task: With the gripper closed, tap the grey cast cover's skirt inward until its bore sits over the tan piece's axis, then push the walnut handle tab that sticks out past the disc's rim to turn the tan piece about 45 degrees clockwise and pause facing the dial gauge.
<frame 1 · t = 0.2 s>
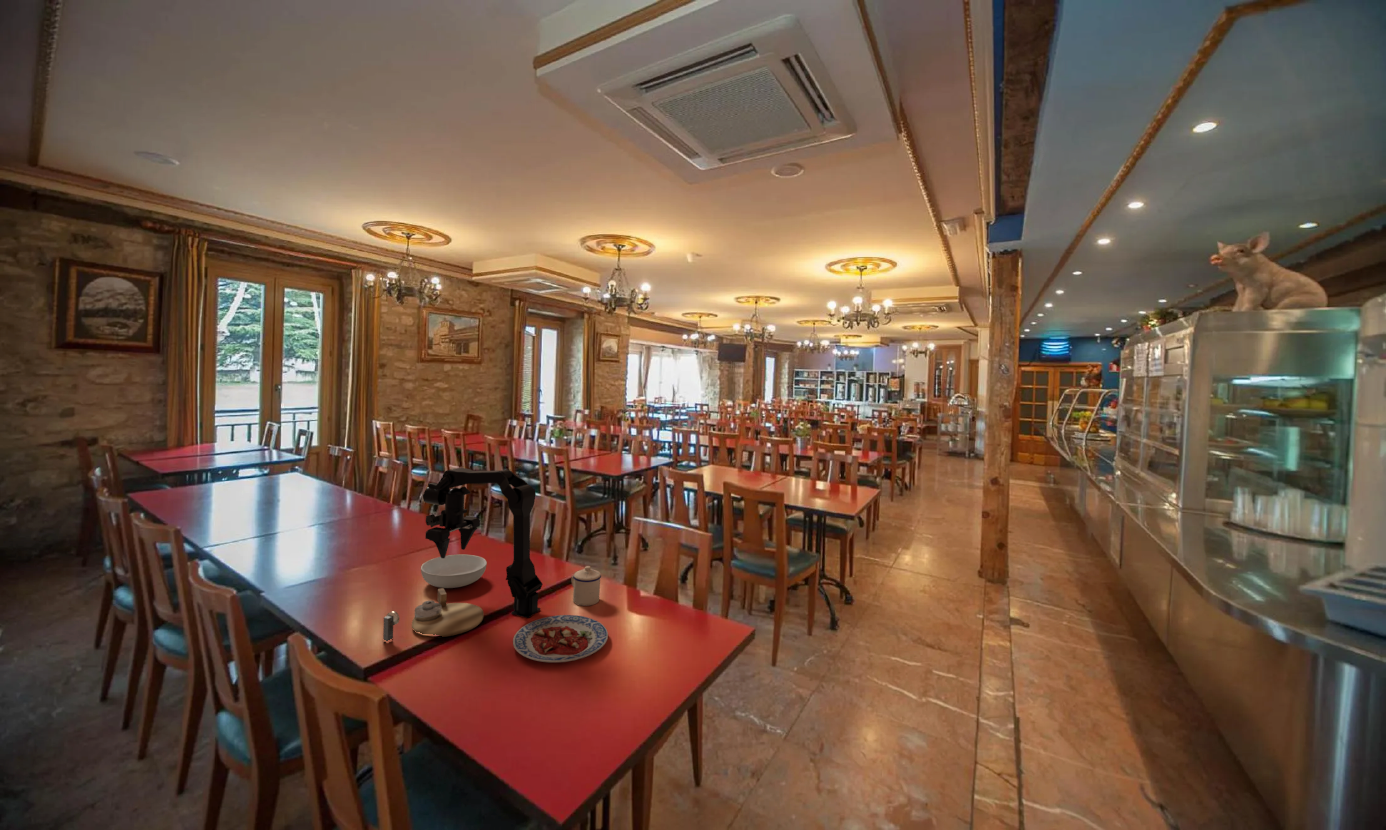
hand: (453, 553, 165), 14 cm above the table, fingers open, 9 cm apart
ceramic plate: (561, 644, 141), on the table
teacup with lid: (583, 599, 169), on the table
dial gauge: (388, 641, 136), on the table
cover: (428, 616, 148), point 2 cm above the table, touching tan piece
tan piece: (446, 612, 148), point 3 cm above the table, hinge at 0.0°, touching cover
serving bowl: (454, 583, 176), on the table
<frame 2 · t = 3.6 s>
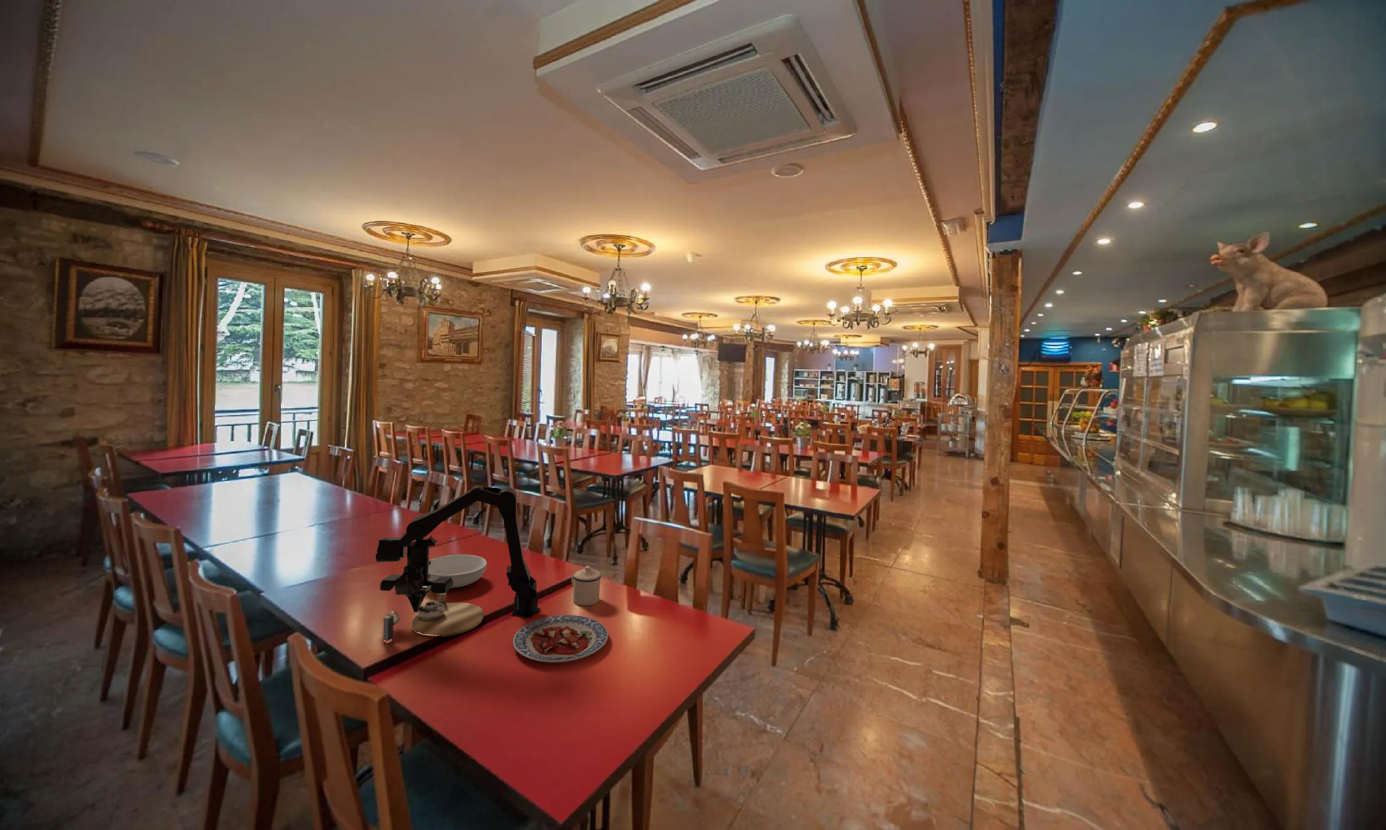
hand: (416, 611, 148), 3 cm above the table, fingers closed
cover: (431, 616, 148), point 2 cm above the table, touching gripper
tan piece: (446, 612, 148), point 3 cm above the table, hinge at 0.2°
everything else where it was.
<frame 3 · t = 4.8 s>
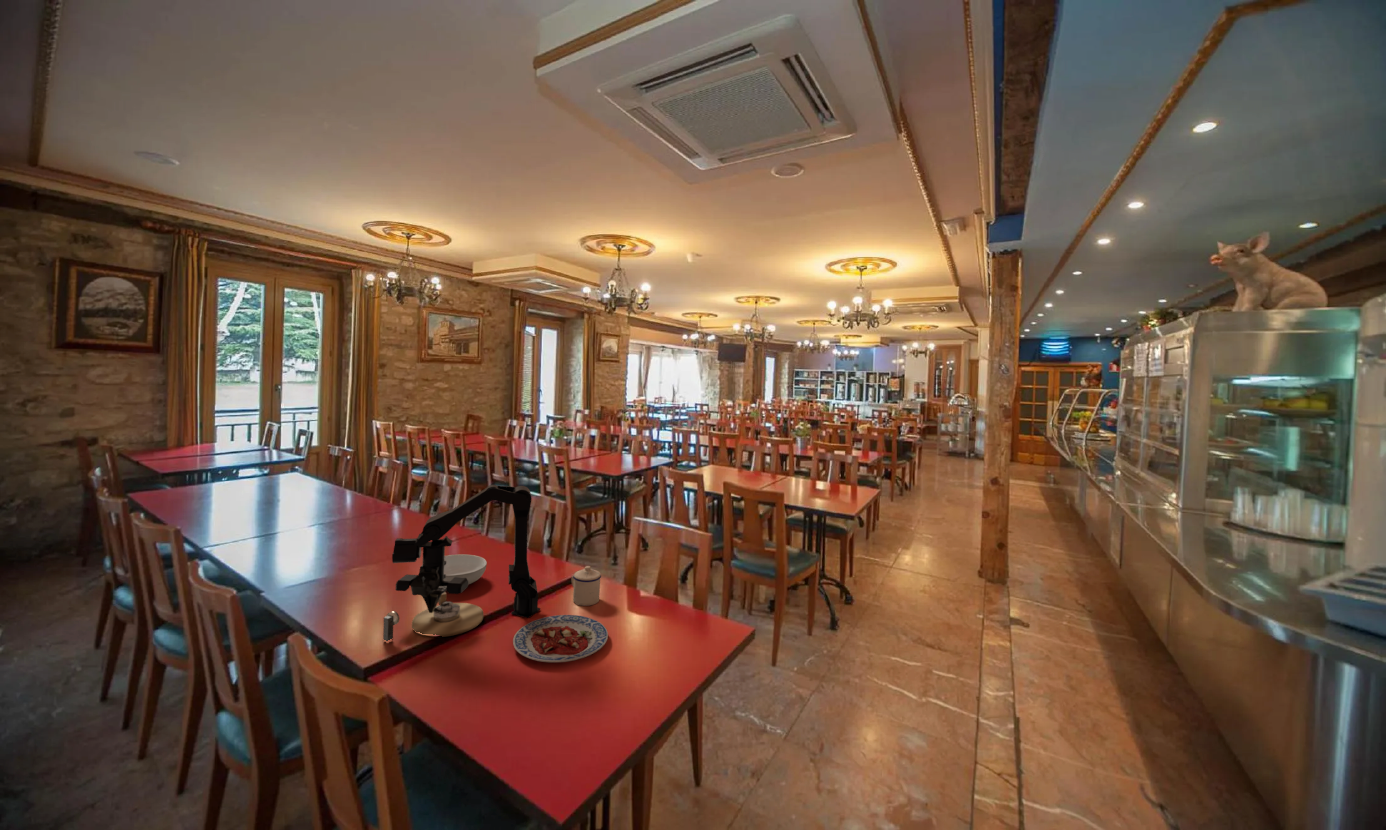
hand: (431, 612, 148), 3 cm above the table, fingers closed
cover: (446, 617, 148), point 2 cm above the table, touching gripper, tan piece
tan piece: (446, 612, 148), point 3 cm above the table, hinge at 0.2°, touching cover
everything else where it was.
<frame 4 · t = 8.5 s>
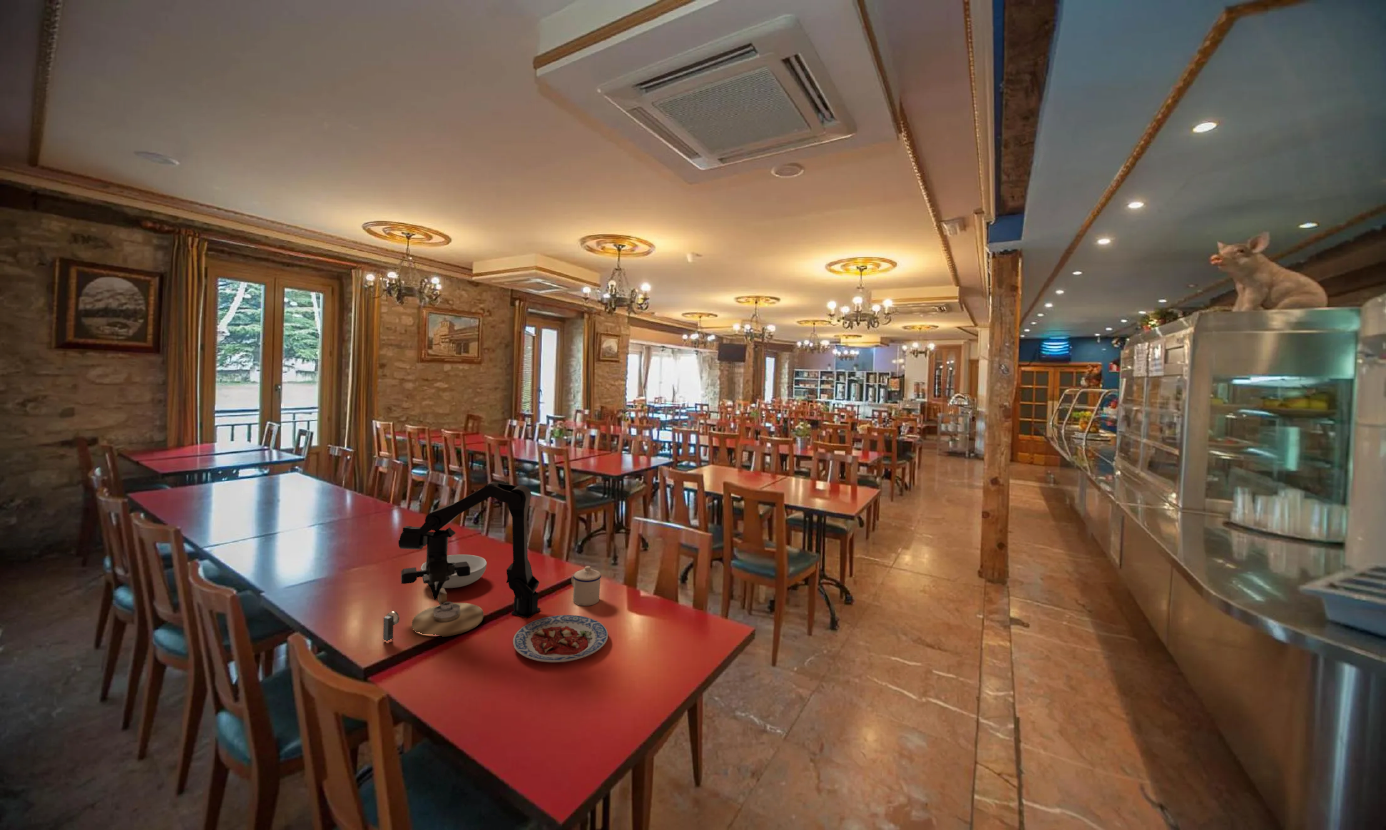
hand: (435, 599, 155), 4 cm above the table, fingers closed
cover: (446, 617, 148), point 2 cm above the table, touching tan piece
tan piece: (446, 612, 148), point 3 cm above the table, hinge at -0.7°, touching cover, gripper
everything else where it was.
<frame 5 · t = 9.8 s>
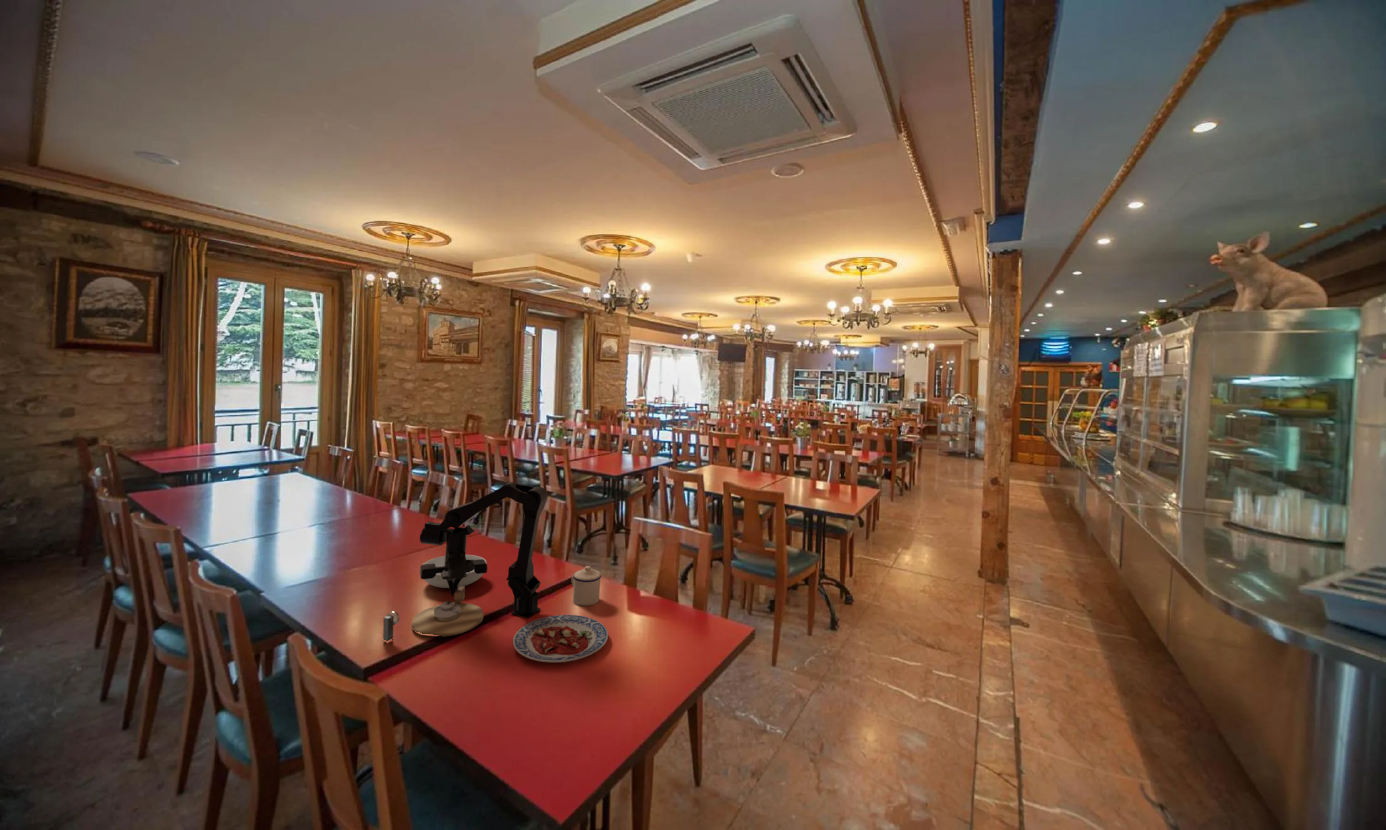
hand: (452, 595, 158), 4 cm above the table, fingers closed
tan piece: (447, 611, 149), point 3 cm above the table, hinge at -27.8°, touching cover, gripper
everything else where it was.
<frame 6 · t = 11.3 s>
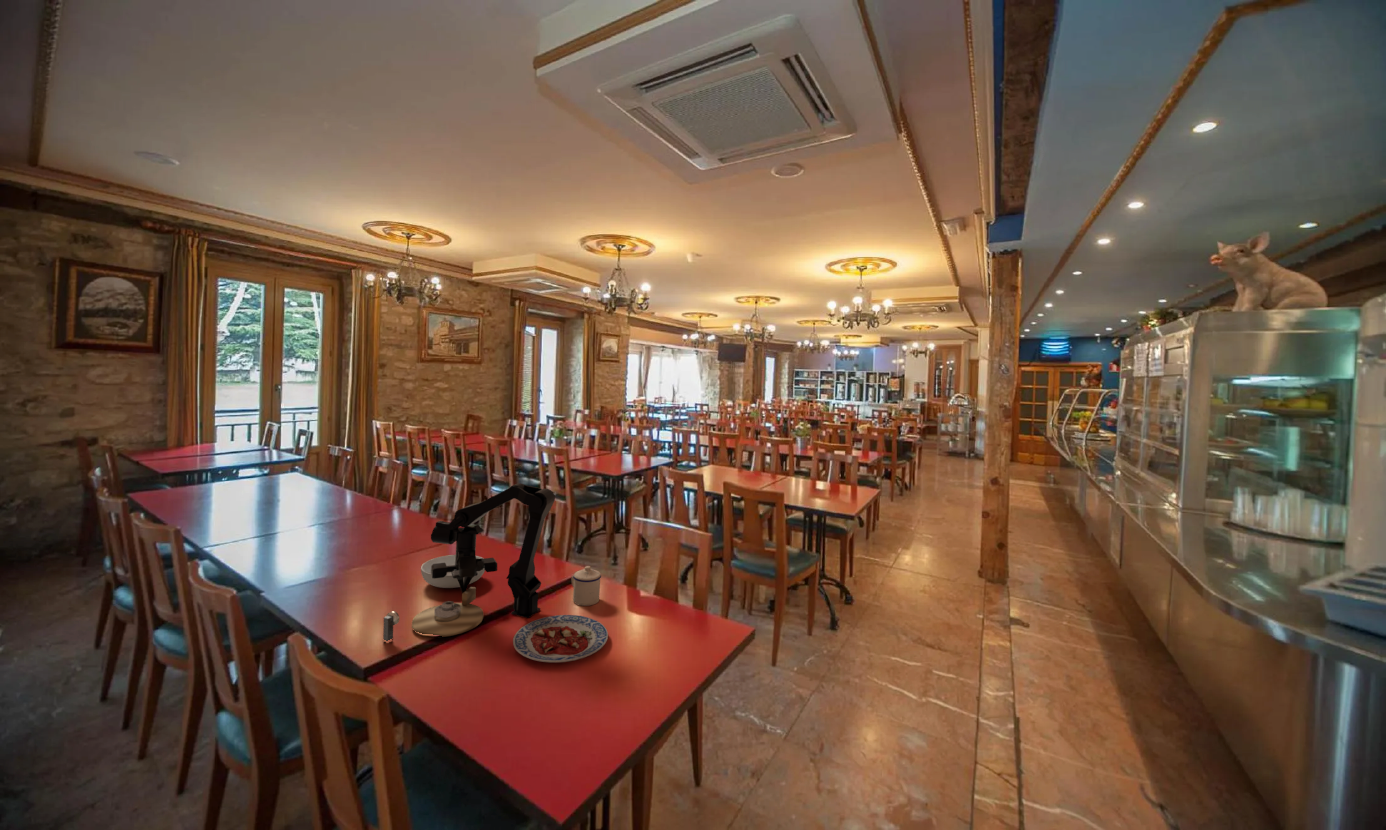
hand: (463, 593, 159), 4 cm above the table, fingers closed
tan piece: (448, 611, 149), point 3 cm above the table, hinge at -43.7°, touching cover, gripper
everything else where it was.
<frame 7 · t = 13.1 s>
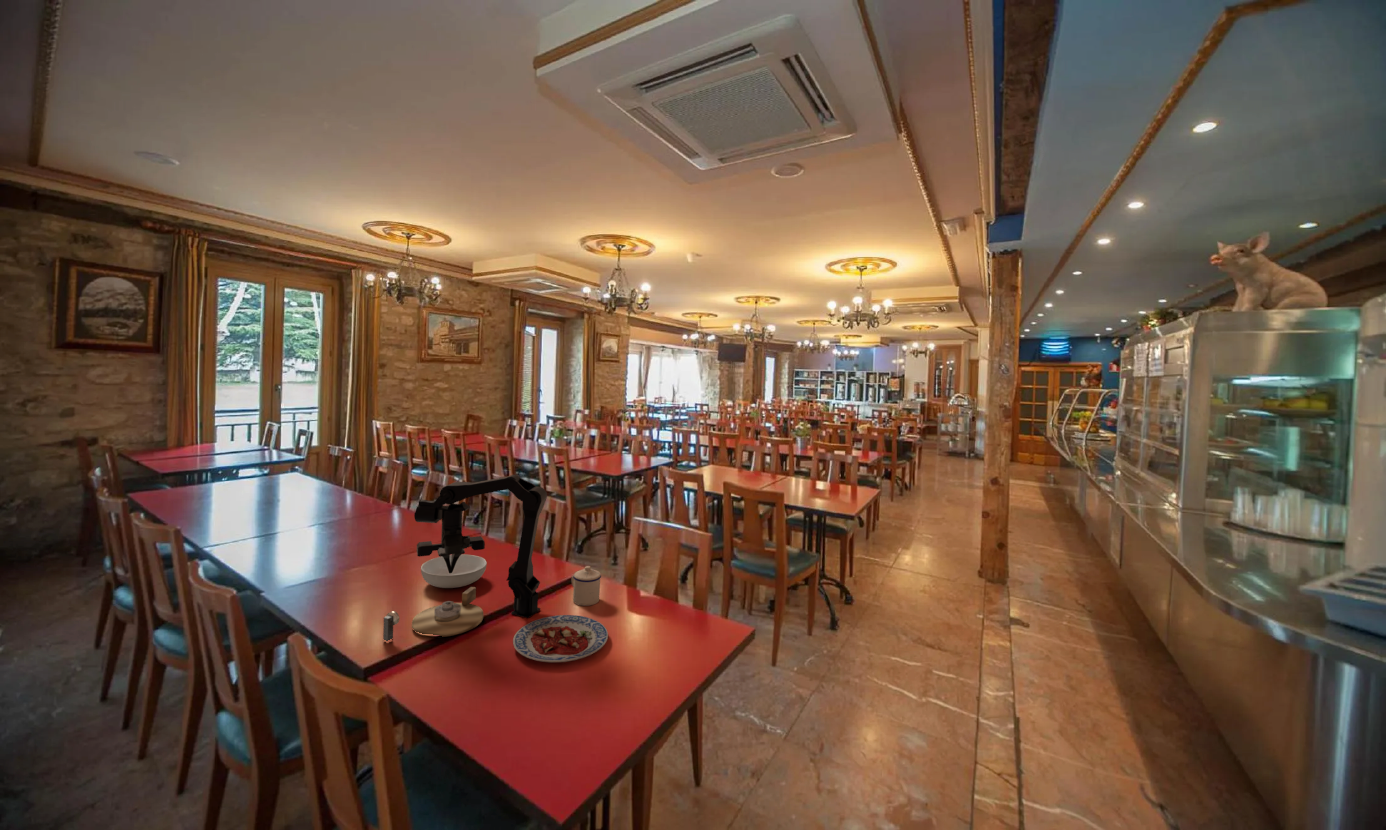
hand: (450, 572, 156), 11 cm above the table, fingers closed
tan piece: (448, 611, 149), point 3 cm above the table, hinge at -43.7°, touching cover
everything else where it was.
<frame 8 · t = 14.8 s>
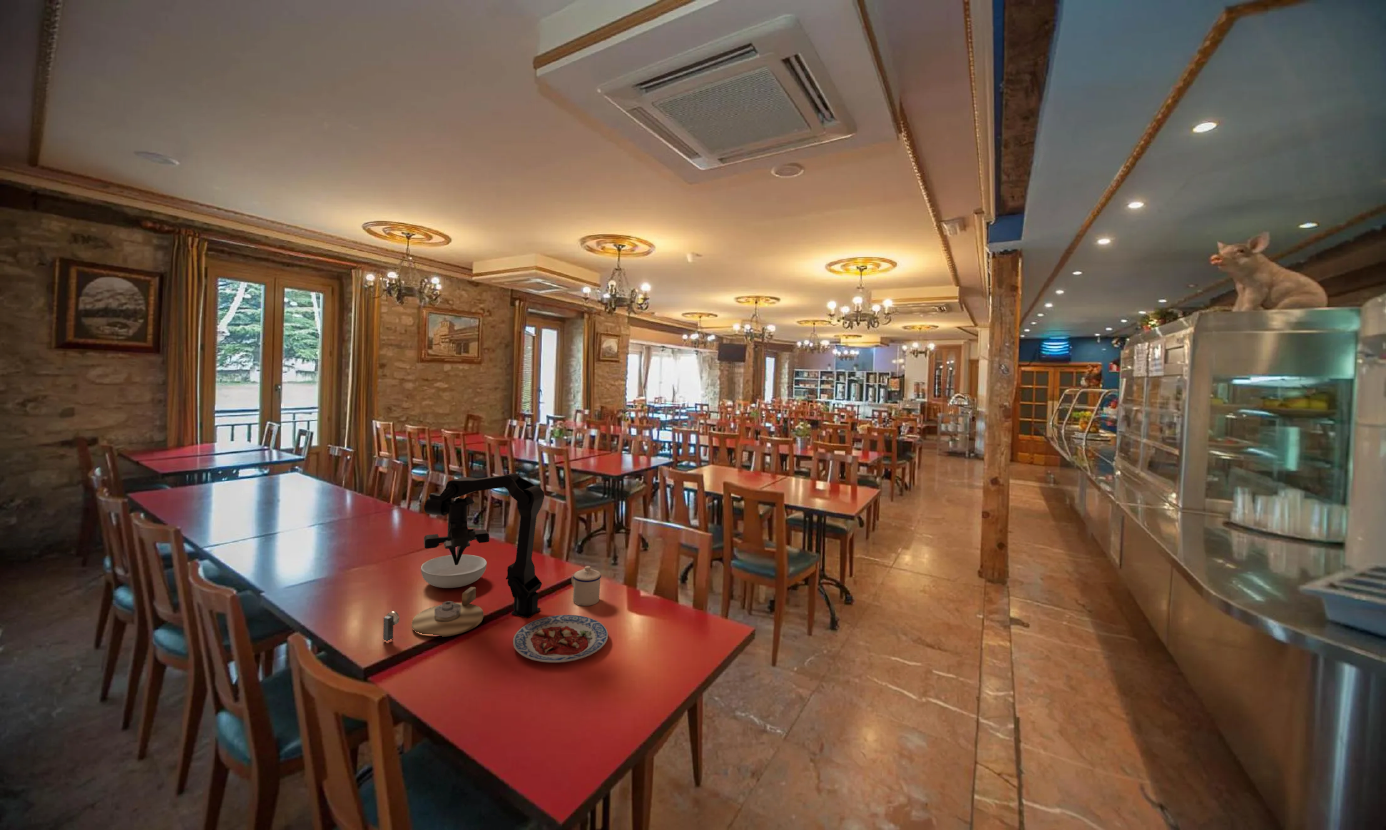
hand: (456, 564, 162), 12 cm above the table, fingers closed
nothing on the table moved.
at the end: cover 0.5 cm from the tan piece (horizontally); tan piece at -44° (first picture: +0°); cover tilted 0° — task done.
